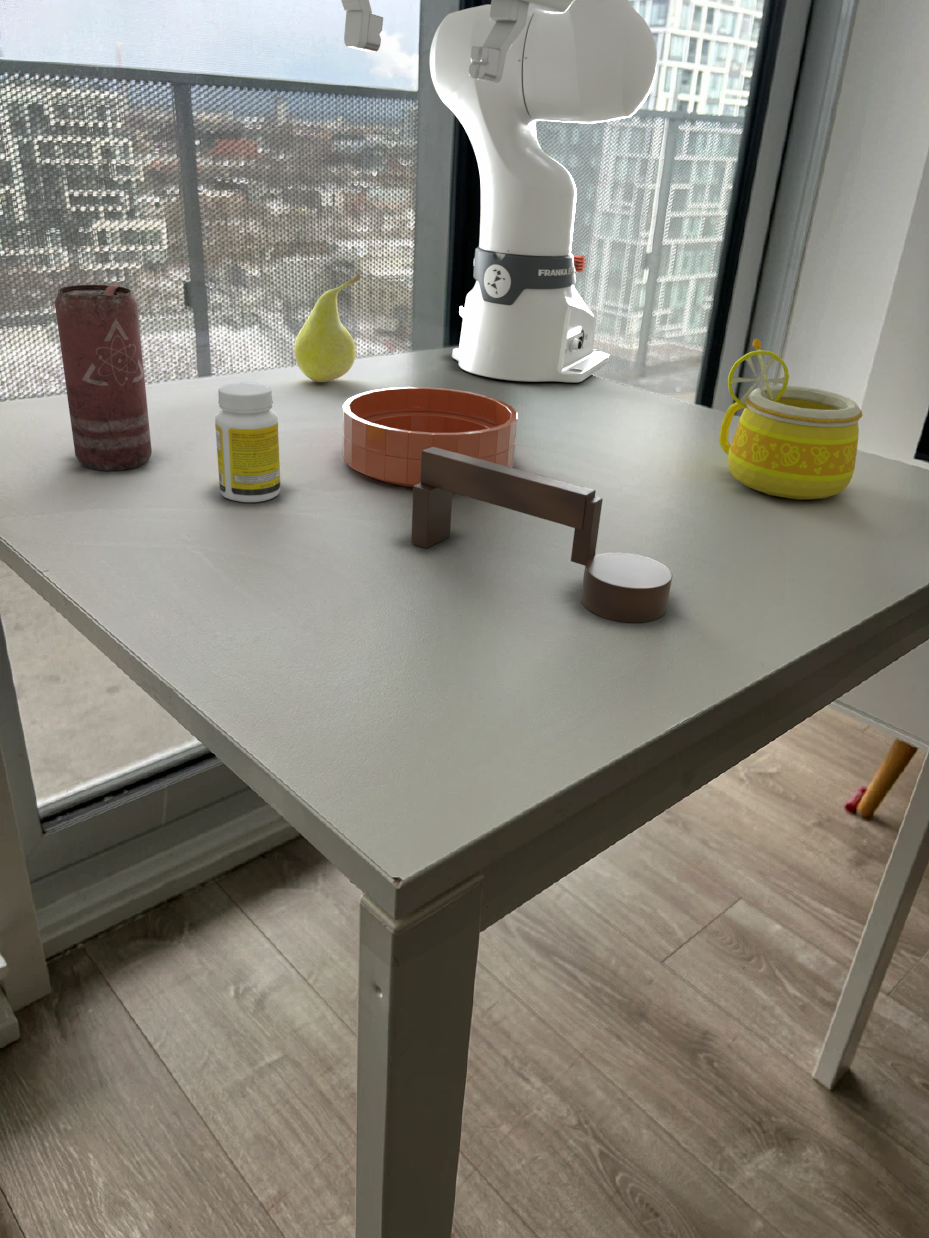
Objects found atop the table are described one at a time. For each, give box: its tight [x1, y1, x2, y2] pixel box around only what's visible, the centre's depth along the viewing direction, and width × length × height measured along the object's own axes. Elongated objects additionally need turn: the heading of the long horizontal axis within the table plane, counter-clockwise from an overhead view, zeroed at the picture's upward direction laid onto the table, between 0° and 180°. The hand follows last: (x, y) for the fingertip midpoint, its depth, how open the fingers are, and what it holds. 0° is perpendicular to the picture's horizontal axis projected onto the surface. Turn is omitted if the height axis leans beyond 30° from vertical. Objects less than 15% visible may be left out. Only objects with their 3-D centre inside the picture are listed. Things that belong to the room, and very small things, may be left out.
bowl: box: [341, 386, 518, 488], centre depth 83 cm, size 15×15×5 cm
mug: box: [718, 338, 863, 501], centre depth 83 cm, size 13×11×12 cm
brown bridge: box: [410, 447, 673, 624], centre depth 63 cm, size 19×6×7 cm, turn 56°
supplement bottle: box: [214, 382, 281, 503], centre depth 73 cm, size 5×5×8 cm
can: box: [54, 284, 153, 472], centre depth 77 cm, size 6×6×14 cm
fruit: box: [293, 273, 362, 383], centre depth 106 cm, size 7×8×12 cm
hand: (426, 66), depth 58 cm, fingers open, 8 cm apart
